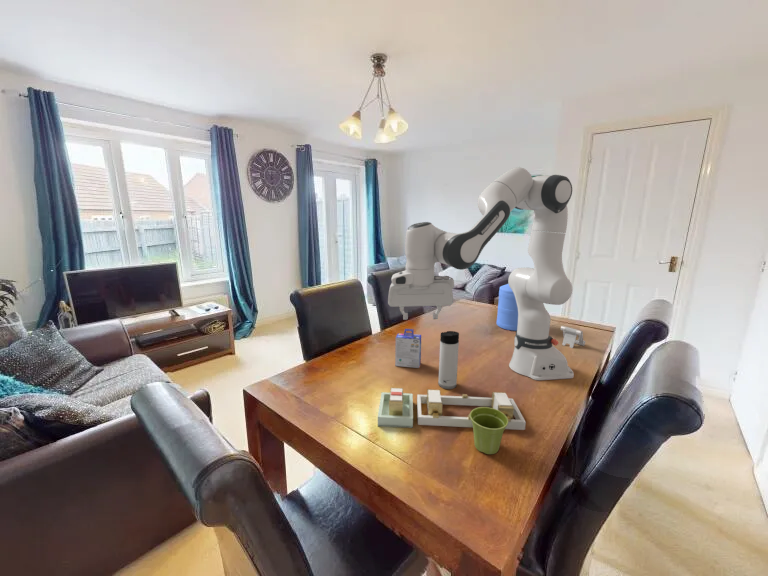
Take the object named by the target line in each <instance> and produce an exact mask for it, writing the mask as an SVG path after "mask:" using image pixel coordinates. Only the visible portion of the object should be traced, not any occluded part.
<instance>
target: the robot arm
mask: <svg viewBox="0 0 768 576" xmlns="http://www.w3.org/2000/svg"><path fill="white" fill-rule="evenodd" d="M572 194H573V185H572V182H571V180H570V179H569V178H568V176H565V175H560V174H552V175H536V176H532V174H531V173H530V171H529V170H527V169H526V168H523V167H520V166H519V167H518V166H517V167H513V168H510V169H508V170H507V171H505V172H504V173H502V174H501V175H499V176H498V177H497V178H495V179H494V180H493V181H492V182H491V183H489V184H488V185H487V186H486V187H485V188H484V189H483V190H482V191H481V193H480V194H479V195H478V198H477V206H478V207H477V208H478V210H479V212H480V213H481V215H482V216H481V217H480V218H479V219H478V221H477V222H476V223H475V224H474V225H473V226H472V227H471V228H470V229H469V230H468V231H465V232H462V233H455V232H448V231H445V230H443V229H440V228H438V227H436V226H435V225H434V224H433V223H432V222H429V221H423V222H418V223H417V222H416V223H414V224H411V225H409V226H408V227H407V229H406V232H405V240H404V254H405V258H406V263H405V270H402V271H399V272H396V273H394V274H392V276H391V279H390V280H391V283H390V285H389V290H388V297H387V305H389V307H391V308H393V307H395V308H397V307H399V311H400V313H401V315H403V316H402V319H403V320H404V321H405V320H406V321H407V320H409V313H408V312H405V307H436V311H434V312H432V319H433V320H438V319H439V313H441V311H442V309H443V308H442V307H447V306H448V307H451V306H452V305H453V303H454V296H453V295H454V293H453V289H454V287H455V280H454V278H452V277H451V276H450V275H435V264H436V263H441V264H443V265H447V266H450V267H452V268H454V269H456V270H459V271H460V270H462V271H463V270H467V269H469V268H472V266H473V265H474V264H475V263H476V262H477V261H478V259H479V256H480V255H481V254H482V251H483V250H484V248H485V247H486V245H487V244H488V243H489V242H490V241H491V240H492V238H493V237H494V236H496V234H497V233H498V231H500V229H501V228H502V227H503V226H504V225H505V223H506V222H507V220H508V219H509V218H510V215H511V212H512V211H513V210H514V209H515V210H516V209H517V210H526V211H533V213H534V219H533V221H532V226H531V232H530V237H529V243H528V248H527V253H528V255H529V256H530V257H531V259H532V261H533V266H534V268H532V267H517V268H515V269H514V270H511V272H510V274H509V276H508V280H507V281H508V283H507V284H509V286H510V288H511V289H512V291H513V293H514V295H515V299H516V303H517V307H518V326H517V331H515V336H514V344H513V345H514V348H513V353H512V356H511V359H510V361H509V363H508V366H509V368H510V369H511V370H512V371H514V372H515V373H517V374H519V375H521V376H522V375H523V376H525V377H529V378H531V379H532V380H534V381H547V380H566V379H573V378H574V375H575V373H574V371H573V370H572V368H571V367H570V366H569V365H568V361H567V358H566V356H565V355H564V354H563V353H562V352H561V351H560V350H559V349H558V348H556V347H555V346H558V345H559V341H558V340H557V339H556V338H554V337H552V336H551V335H550V328H551V327H550V326H551V320H552V319H551V315H550V313H549V312H548V310H547V308H546V306H545V304H546V305H554V306H555V305H556V306H560V305H563V304H565V303H567V302H568V300H570V298H571V297H572V294H573V285H572V282H571V280H570V279H569V278H568V277H567V275H566V272H565V269H564V265H563V264H564V263H563V250H564V244H565V238H566V233H567V227H568V215H569V214H568V204H569V202H570V199H571V197H572Z"/></svg>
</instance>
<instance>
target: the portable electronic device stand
mask: <svg viewBox="0 0 768 576" xmlns="http://www.w3.org/2000/svg"><path fill="white" fill-rule="evenodd" d="M560 331H562V334H563V340H562V343H561V344H562V345H561V346H564V347H565V346H566V345H567V344H568V345H569V348H570V349H573V348H574V346H575V344H576V345H580V346H583V347H585V345H586V340H584V331H583V330H579V329H577V328H572V327H569V326H565V325H561V326H560ZM577 337H578V339H577Z"/></svg>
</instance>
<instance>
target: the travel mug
mask: <svg viewBox="0 0 768 576" xmlns="http://www.w3.org/2000/svg"><path fill="white" fill-rule="evenodd" d="M459 338H460V333H459V332H458V331H453V330H448V331H443V332H440V338H439V340H440V341H439V360H438V361H439V364H438V382H437V385H438V386H439V387H441V388H442V389H445V390H452V389H455V388H456V387H457V379H458V363H459V361H458V360H459V345H460V343H459V342H460V341H459Z"/></svg>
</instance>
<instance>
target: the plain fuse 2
mask: <svg viewBox="0 0 768 576" xmlns="http://www.w3.org/2000/svg"><path fill="white" fill-rule="evenodd" d="M491 398H492V402H491V407H490V408H493V409H496V410H499V411H501V412H502V413H503V414H505V416H508V417H510V419H514V415H513V411H514V408H513V406H512V404H511V402H510V400H509V397H508V395H507V393H506V392H503V391H502V392H501V391H492V392H491Z"/></svg>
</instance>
